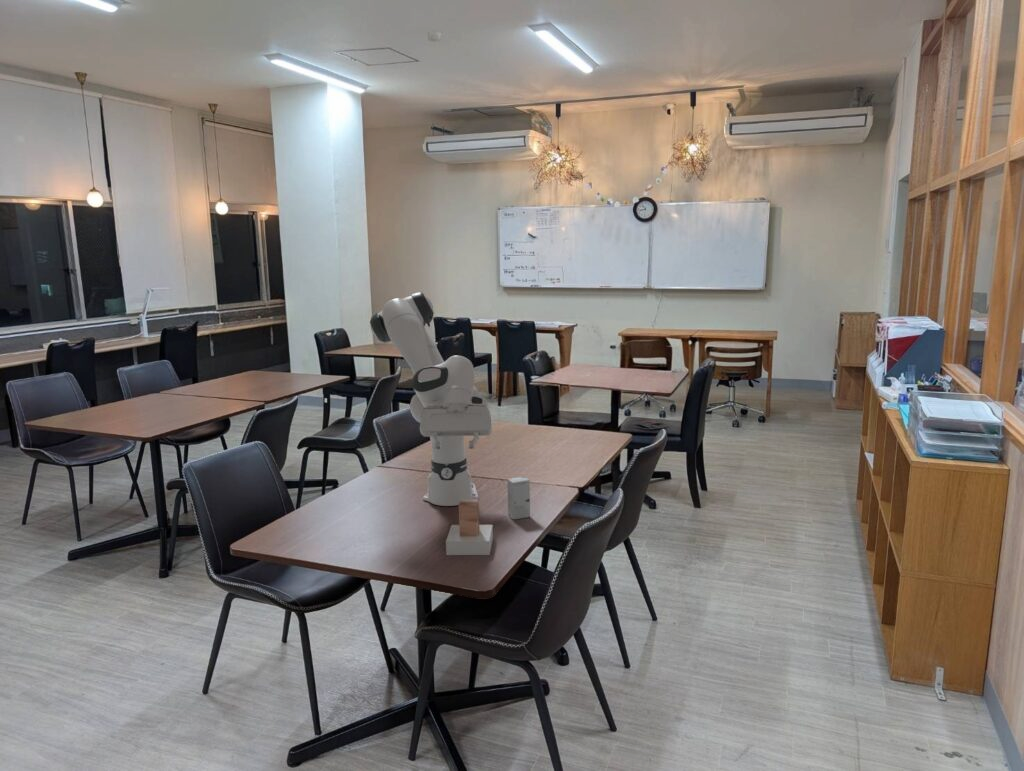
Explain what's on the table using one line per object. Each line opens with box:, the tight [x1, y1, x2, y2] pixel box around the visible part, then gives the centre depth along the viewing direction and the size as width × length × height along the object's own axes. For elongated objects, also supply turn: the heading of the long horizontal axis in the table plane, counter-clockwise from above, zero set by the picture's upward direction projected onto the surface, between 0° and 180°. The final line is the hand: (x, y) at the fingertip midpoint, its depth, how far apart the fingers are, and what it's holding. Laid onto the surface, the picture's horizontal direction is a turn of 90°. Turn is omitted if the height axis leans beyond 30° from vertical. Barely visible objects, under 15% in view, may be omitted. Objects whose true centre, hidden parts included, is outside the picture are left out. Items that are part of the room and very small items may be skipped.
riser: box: [445, 524, 494, 556], centre depth 198 cm, size 12×12×4 cm
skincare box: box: [506, 476, 531, 520], centre depth 219 cm, size 6×4×12 cm
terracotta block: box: [458, 499, 480, 536], centre depth 196 cm, size 5×5×9 cm
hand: (454, 448), depth 191 cm, fingers open, 8 cm apart
